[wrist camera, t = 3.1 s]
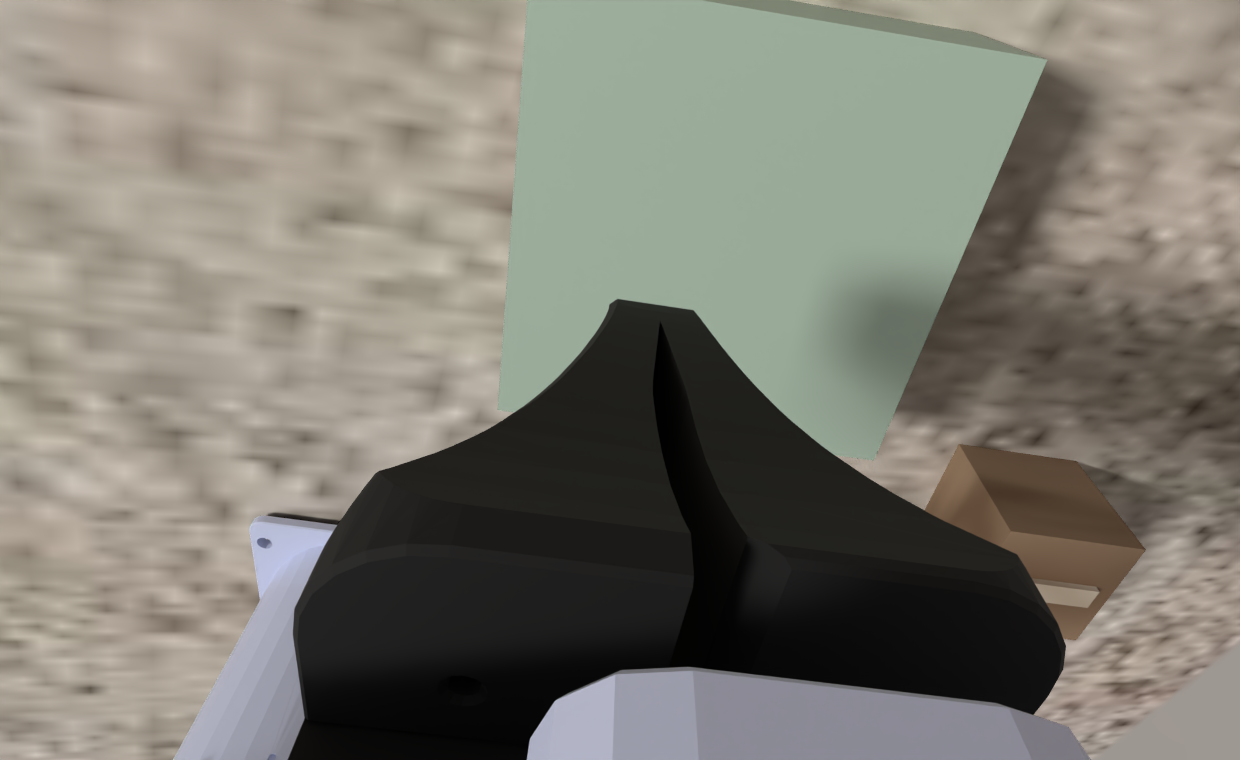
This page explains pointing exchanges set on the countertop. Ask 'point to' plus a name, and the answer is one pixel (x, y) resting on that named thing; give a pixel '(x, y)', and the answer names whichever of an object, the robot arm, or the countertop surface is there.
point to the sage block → (753, 189)
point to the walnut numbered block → (1042, 525)
